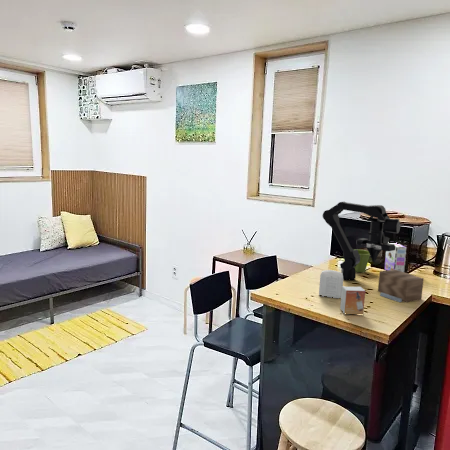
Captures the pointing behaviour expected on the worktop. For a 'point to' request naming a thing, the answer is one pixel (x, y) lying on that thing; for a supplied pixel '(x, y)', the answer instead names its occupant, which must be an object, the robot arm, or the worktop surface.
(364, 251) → the plant pot
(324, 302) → the worktop surface
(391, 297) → the bay rails
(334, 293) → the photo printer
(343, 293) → the small box
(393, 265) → the candy box
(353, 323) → the worktop surface
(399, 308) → the worktop surface
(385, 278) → the walnut box
